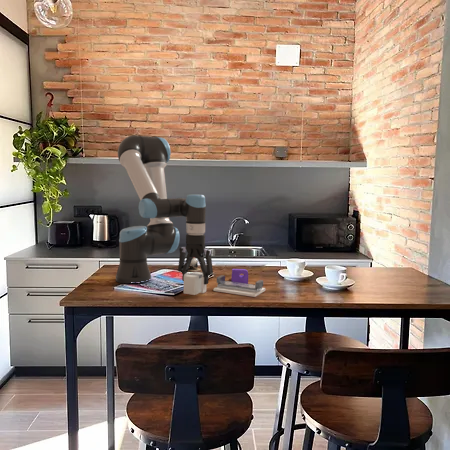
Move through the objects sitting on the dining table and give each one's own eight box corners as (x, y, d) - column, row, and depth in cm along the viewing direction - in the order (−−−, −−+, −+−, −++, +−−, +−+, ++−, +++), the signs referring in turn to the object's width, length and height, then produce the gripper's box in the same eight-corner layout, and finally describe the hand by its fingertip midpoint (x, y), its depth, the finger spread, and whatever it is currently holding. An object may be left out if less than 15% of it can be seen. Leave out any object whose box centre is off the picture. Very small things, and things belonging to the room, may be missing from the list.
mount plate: (213, 290, 172) (213, 288, 171) (225, 285, 181) (225, 282, 181) (254, 296, 164) (255, 294, 164) (265, 290, 173) (265, 288, 173)
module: (183, 293, 167) (183, 275, 167) (195, 288, 175) (195, 271, 175) (194, 295, 165) (194, 277, 164) (206, 290, 173) (206, 272, 172)
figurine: (198, 265, 203) (183, 247, 208) (188, 279, 208) (174, 261, 212) (209, 262, 210) (194, 245, 215) (198, 276, 214) (184, 259, 219)
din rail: (215, 286, 174) (215, 277, 173) (222, 283, 179) (222, 274, 179) (258, 293, 166) (258, 283, 165) (263, 289, 171) (264, 280, 171)
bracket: (248, 286, 182) (248, 270, 181) (231, 285, 182) (232, 269, 181) (246, 279, 194) (247, 264, 193) (231, 279, 194) (231, 264, 193)
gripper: (168, 233, 169) (168, 289, 171) (213, 236, 160) (213, 296, 162) (178, 231, 175) (178, 285, 178) (222, 234, 167) (222, 292, 169)
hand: (195, 290), depth 170 cm, fingers open, 7 cm apart
